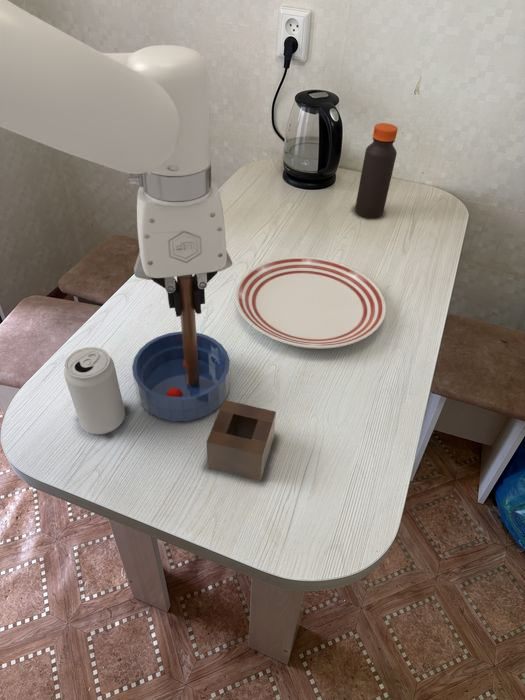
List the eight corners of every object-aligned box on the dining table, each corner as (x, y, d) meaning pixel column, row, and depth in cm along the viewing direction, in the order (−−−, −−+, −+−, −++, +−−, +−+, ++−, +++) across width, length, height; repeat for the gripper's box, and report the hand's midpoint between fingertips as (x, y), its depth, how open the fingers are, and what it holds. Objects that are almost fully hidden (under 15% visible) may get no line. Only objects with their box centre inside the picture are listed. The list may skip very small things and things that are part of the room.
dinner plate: (263, 255, 106) (264, 241, 104) (393, 285, 100) (397, 271, 98) (210, 336, 87) (210, 322, 85) (366, 379, 81) (370, 365, 79)
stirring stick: (184, 384, 77) (174, 277, 64) (189, 375, 79) (180, 268, 65) (196, 387, 77) (189, 280, 63) (201, 378, 78) (194, 271, 65)
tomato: (164, 405, 75) (162, 394, 73) (170, 393, 77) (169, 383, 75) (179, 409, 74) (178, 398, 73) (185, 397, 76) (184, 386, 75)
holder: (207, 468, 68) (206, 442, 64) (224, 426, 74) (223, 399, 69) (260, 481, 67) (262, 455, 63) (273, 438, 72) (276, 411, 68)
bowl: (121, 412, 75) (115, 387, 71) (159, 348, 85) (155, 323, 81) (212, 434, 72) (211, 409, 69) (240, 366, 82) (240, 341, 79)
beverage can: (71, 428, 72) (50, 370, 64) (98, 397, 76) (81, 339, 68) (109, 443, 71) (93, 385, 62) (134, 410, 75) (122, 352, 67)
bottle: (350, 213, 121) (365, 128, 107) (361, 202, 125) (377, 119, 111) (376, 222, 118) (395, 135, 105) (387, 210, 123) (406, 126, 109)
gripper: (103, 200, 51) (129, 335, 64) (255, 187, 54) (251, 318, 67) (100, 168, 56) (124, 299, 69) (239, 158, 60) (238, 285, 72)
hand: (187, 307), depth 68 cm, fingers closed on stirring stick, 2 cm apart
